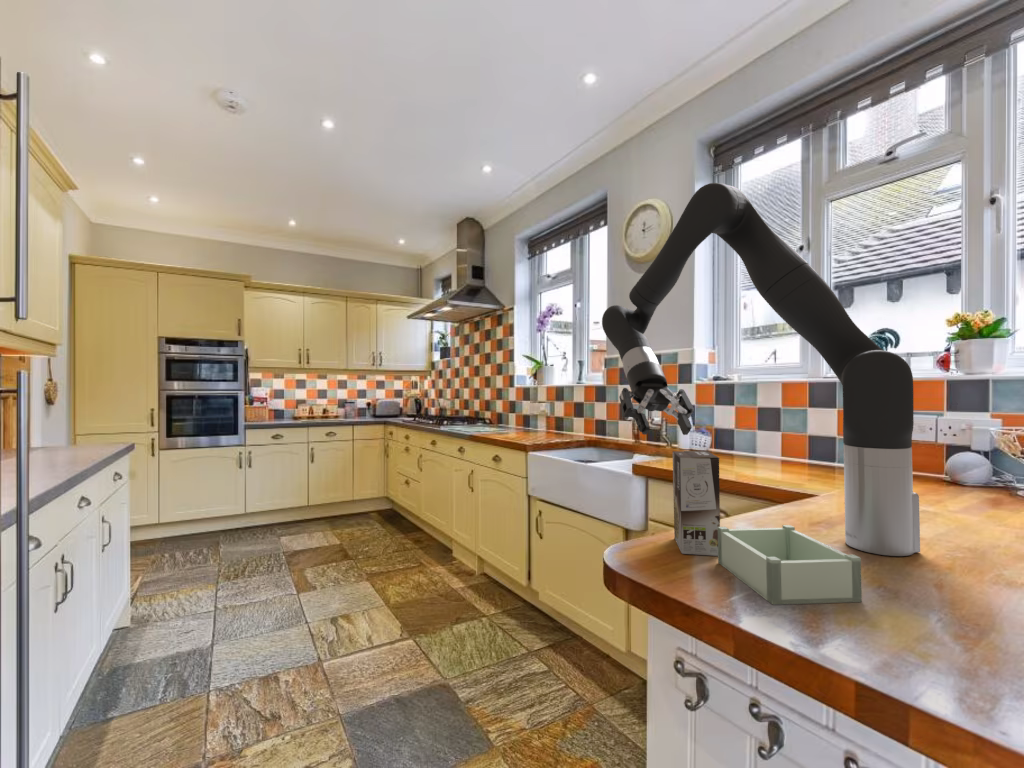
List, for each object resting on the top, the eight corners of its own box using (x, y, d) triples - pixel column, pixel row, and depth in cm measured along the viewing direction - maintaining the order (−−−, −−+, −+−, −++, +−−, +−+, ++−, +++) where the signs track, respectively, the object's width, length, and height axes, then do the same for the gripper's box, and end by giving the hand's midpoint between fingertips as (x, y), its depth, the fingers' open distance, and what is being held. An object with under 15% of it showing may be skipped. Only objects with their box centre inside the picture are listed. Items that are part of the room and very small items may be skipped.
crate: (790, 560, 75) (789, 525, 75) (861, 601, 61) (860, 557, 61) (718, 562, 75) (717, 526, 75) (772, 604, 60) (771, 560, 60)
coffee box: (722, 556, 77) (720, 457, 78) (680, 554, 79) (678, 456, 79) (710, 539, 86) (709, 450, 87) (673, 537, 88) (671, 449, 88)
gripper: (617, 359, 100) (639, 420, 89) (680, 361, 102) (709, 420, 91) (607, 383, 105) (626, 443, 94) (667, 384, 108) (692, 443, 97)
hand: (667, 432), depth 93 cm, fingers open, 8 cm apart
